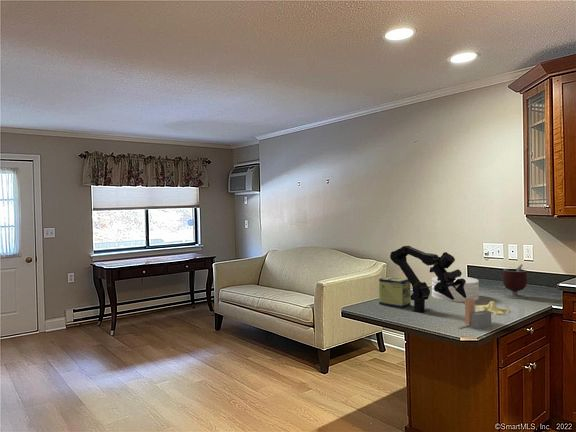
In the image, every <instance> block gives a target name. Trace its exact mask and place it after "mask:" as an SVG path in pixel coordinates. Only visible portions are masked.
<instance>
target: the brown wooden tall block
mask: <svg viewBox="0 0 576 432" xmlns="http://www.w3.org/2000/svg"><path fill="white" fill-rule="evenodd" d="M475 305H476V304H475V299H471V298H469V299H465V302H464V323H465V325H469V324H472V313H474V312H475V311H476V309H475V308H476V306H475Z"/></svg>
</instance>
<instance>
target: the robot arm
mask: <svg viewBox="0 0 576 432" xmlns="http://www.w3.org/2000/svg"><path fill="white" fill-rule="evenodd" d="M407 256H412V257H414V258H415V259H419V260H421V263H422V264H424V265H426V266H431V267H429V271H428V272H429V273H434V274H435V277H438V279H437V280H438V281H439V282H438V283H437V284H436V285H435V286H434V290H435V291H436V292H438V293H441V294H443V295H445V296H446V297H448V298H450V299H452V300H454V297H453V295H452V294H451V292H450V291H449V288H448V287H451V286H453V287H454V288H455V290H456V291H457V292H458V293H459V294H460V295H462V296H463V297H464V298H466V294H465V290H464V285H465V283H466V281H465V279H463V278H461V279H457V280H456V278H457V277H462V275H463V274H462V273H463V272H462V271H461V270H460V269H455V270H453V271H447V269H449V268H450V267H451V266H452V265H453V264H454V262H455V261H456V259H455V257H454V256H453V255H451V254H450V253H448V252H447V251H446V252H442V254H441V255H440V256H439V255H438V254H436V253H430V252H428V253H427V252H424V251H422V250H419V249H417V248H414V247H412V246H410V245H403V246H401V247H400V248H397V249H395V250H393V251H391V252H390V255H389V257H390V260H391V261H392V262H393V263H394V264H395V265H396V266H399V268H400V270H401V271H402V273H403V274H404V276H405V278H406V279H408V280H409V282H410V286H411V289H412V293H411V294H410V301H413V309H412V310H411V311H413V312H416V313H417V312H418V313H425V312H427V308H426V306H425V305H426V300H429V297H430V295H431V289H430V286H429V285H428V284H427V282H425V281H424V282H422V281H420V279H419V278H418V276H417V275H416V274H415V272H414V270H413V269H412V268H411V266H410V265H409V263H408V261H407ZM455 280H456V281H455ZM454 281H455V282H454Z"/></svg>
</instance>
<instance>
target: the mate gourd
mask: <svg viewBox="0 0 576 432" xmlns="http://www.w3.org/2000/svg"><path fill="white" fill-rule="evenodd" d="M522 267H523V264H520V265H518V267H517V268H504V269H503V271H502V284H503V286H504V287H505V288H506V289H507V290H510V291H511V293H504V295H503V297H505V298H508V299H515V300H523V299H526V295H524V294H519V293H518V292H520V291H522V290H524V289H525V288H526V286H527V284H528V273H527V270H526V269H523V268H522Z"/></svg>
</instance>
